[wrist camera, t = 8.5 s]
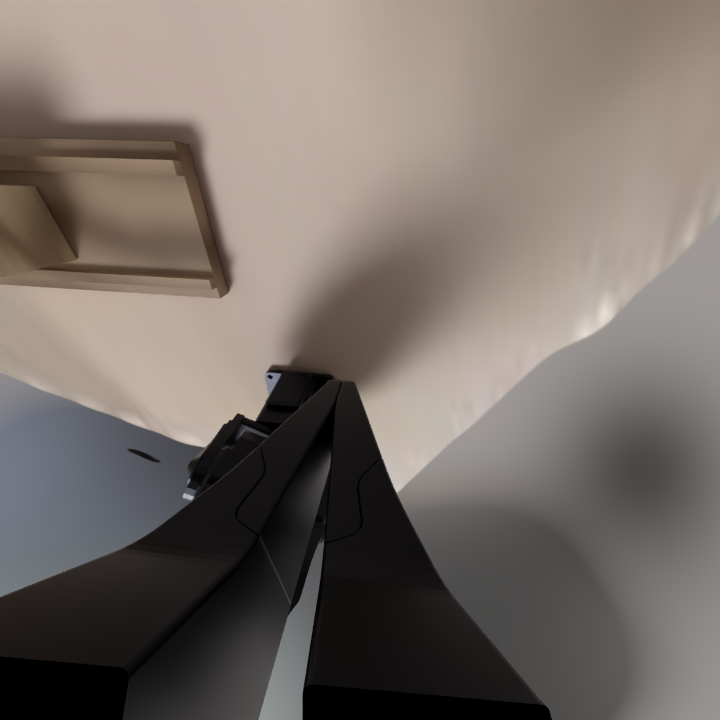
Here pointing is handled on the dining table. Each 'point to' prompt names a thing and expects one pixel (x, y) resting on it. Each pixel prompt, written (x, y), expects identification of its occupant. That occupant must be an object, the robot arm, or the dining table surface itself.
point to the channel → (119, 215)
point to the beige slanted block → (28, 232)
